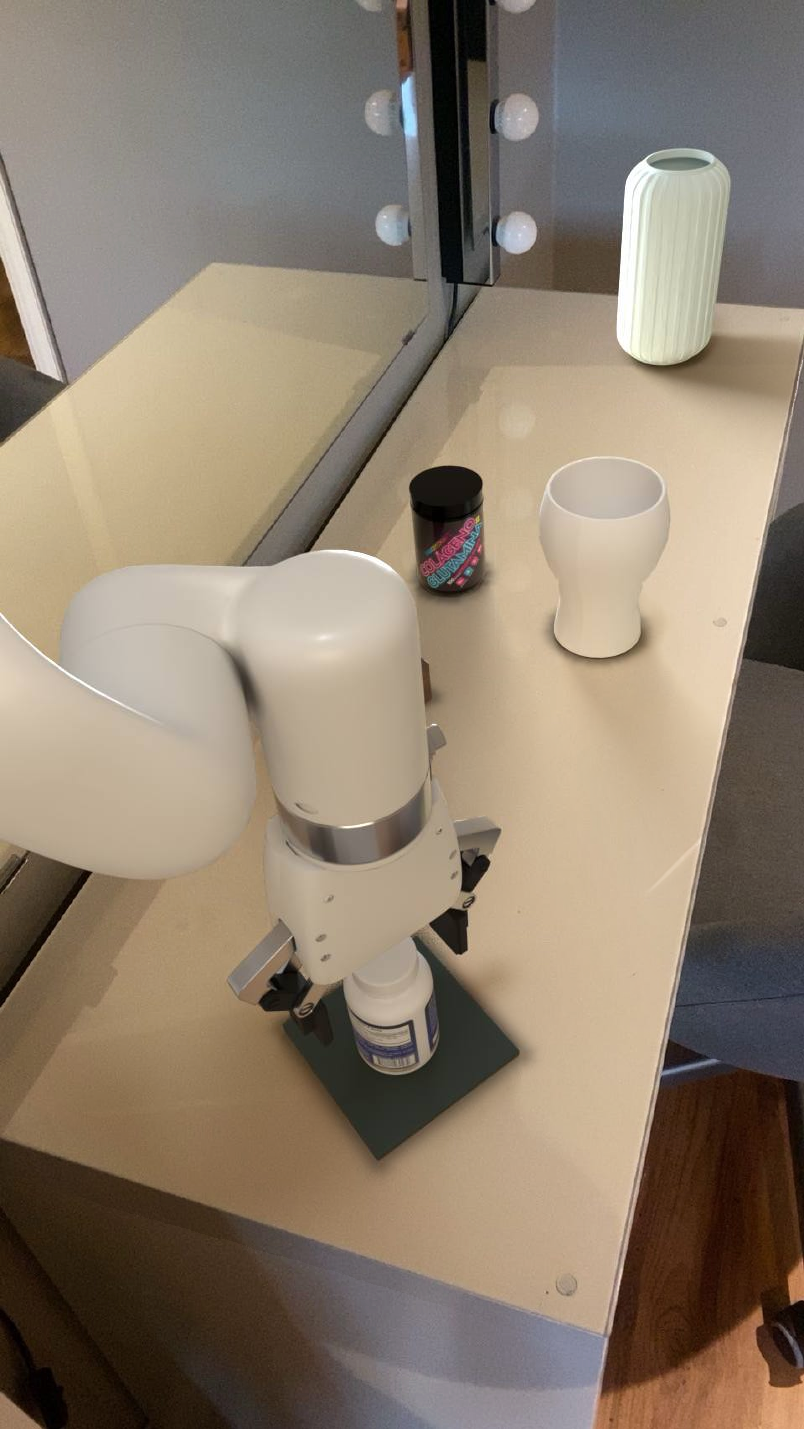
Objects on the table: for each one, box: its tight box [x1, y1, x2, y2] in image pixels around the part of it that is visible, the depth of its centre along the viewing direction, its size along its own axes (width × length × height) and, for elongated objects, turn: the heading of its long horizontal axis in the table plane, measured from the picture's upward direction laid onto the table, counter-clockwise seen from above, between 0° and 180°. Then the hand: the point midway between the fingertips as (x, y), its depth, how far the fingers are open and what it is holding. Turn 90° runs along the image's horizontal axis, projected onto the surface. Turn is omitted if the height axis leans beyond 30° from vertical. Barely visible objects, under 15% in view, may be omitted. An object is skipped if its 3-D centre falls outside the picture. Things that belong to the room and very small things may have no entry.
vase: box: [616, 147, 732, 366], centre depth 124 cm, size 12×12×22 cm
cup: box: [538, 455, 671, 659], centre depth 89 cm, size 11×11×15 cm
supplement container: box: [408, 464, 487, 597], centre depth 98 cm, size 7×7×10 cm
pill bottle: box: [342, 935, 439, 1075], centre depth 64 cm, size 5×5×10 cm
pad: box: [281, 935, 520, 1161], centre depth 67 cm, size 11×11×1 cm
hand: (383, 981), depth 62 cm, fingers open, 9 cm apart
